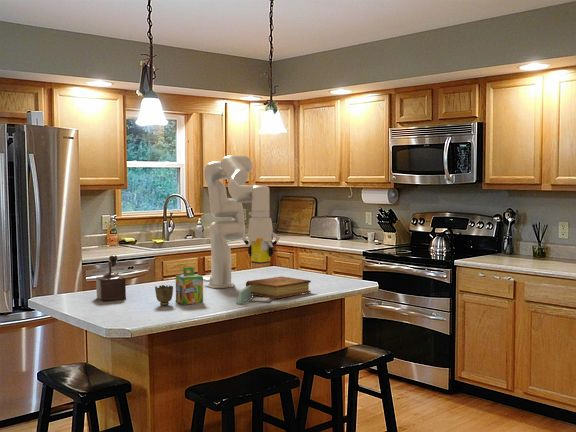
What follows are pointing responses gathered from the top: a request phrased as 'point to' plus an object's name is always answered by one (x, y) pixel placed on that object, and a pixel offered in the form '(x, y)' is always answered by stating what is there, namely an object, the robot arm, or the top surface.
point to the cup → (164, 294)
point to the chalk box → (189, 287)
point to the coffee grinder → (111, 284)
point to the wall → (244, 295)
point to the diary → (278, 287)
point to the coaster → (260, 299)
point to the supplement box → (260, 252)
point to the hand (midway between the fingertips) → (260, 255)
